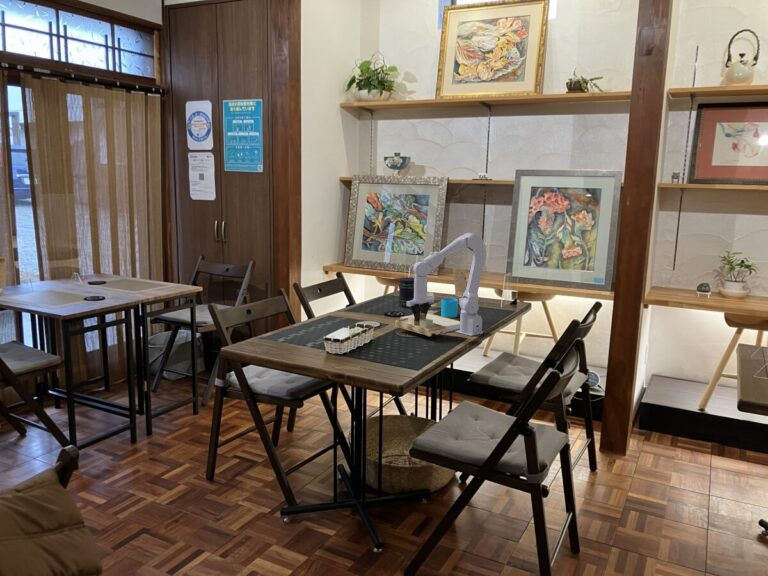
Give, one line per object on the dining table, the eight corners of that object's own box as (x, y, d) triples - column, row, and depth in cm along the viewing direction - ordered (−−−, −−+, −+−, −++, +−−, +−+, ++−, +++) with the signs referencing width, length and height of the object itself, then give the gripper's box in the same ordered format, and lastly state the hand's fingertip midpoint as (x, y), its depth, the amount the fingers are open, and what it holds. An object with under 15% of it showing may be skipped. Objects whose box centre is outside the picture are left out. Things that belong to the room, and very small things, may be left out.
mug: (452, 318, 304) (453, 301, 303) (438, 316, 309) (438, 299, 307) (463, 313, 314) (464, 298, 313) (449, 311, 319) (449, 296, 317)
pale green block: (432, 326, 269) (432, 320, 268) (425, 328, 266) (426, 321, 266) (426, 325, 272) (426, 318, 271) (419, 326, 269) (419, 319, 269)
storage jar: (394, 306, 331) (394, 278, 328) (407, 304, 337) (408, 276, 334) (407, 309, 323) (408, 281, 321) (421, 307, 330) (421, 279, 327)
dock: (464, 327, 285) (464, 322, 284) (439, 333, 275) (439, 327, 274) (425, 317, 304) (425, 312, 304) (400, 322, 294) (400, 316, 294)
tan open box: (445, 332, 267) (446, 316, 266) (429, 336, 261) (429, 320, 260) (411, 322, 284) (411, 307, 282) (394, 326, 277) (395, 310, 276)
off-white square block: (420, 323, 274) (420, 316, 274) (414, 324, 272) (414, 318, 271) (414, 321, 278) (414, 315, 277) (407, 323, 275) (408, 316, 274)
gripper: (426, 286, 277) (425, 316, 279) (401, 290, 268) (401, 321, 270) (437, 289, 271) (436, 319, 274) (412, 292, 262) (412, 324, 265)
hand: (420, 320), depth 272 cm, fingers closed on tan open box, 3 cm apart
